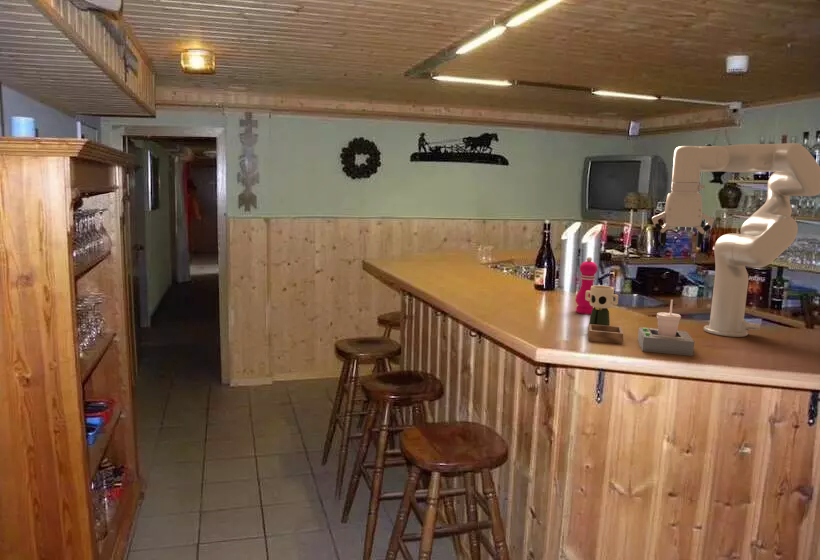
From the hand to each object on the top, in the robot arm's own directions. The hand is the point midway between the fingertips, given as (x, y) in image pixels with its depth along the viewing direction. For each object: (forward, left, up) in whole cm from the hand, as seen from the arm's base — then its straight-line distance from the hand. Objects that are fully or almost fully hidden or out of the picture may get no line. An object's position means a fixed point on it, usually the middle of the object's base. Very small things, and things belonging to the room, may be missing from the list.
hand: (680, 246), depth 189 cm
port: (+4, +16, -28) cm, 32 cm away
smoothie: (+4, +16, -28) cm, 32 cm away
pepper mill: (+25, -28, -28) cm, 47 cm away
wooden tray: (+20, +11, -28) cm, 36 cm away
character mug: (+21, -5, -28) cm, 35 cm away
